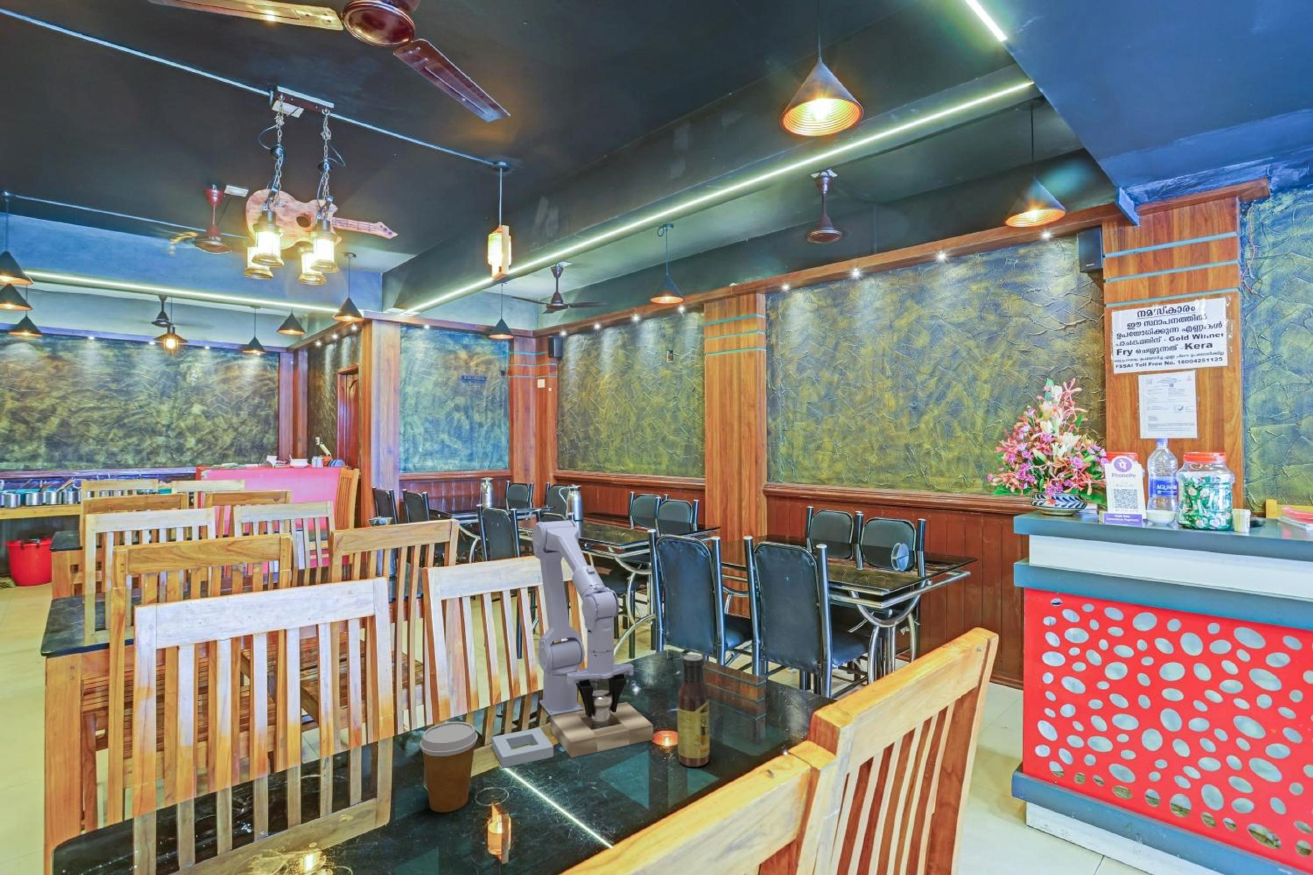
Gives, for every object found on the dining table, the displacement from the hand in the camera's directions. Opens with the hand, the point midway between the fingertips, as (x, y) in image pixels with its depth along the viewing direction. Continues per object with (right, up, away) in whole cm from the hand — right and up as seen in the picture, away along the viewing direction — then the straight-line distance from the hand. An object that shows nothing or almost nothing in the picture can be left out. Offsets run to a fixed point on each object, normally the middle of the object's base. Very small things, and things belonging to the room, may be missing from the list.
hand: (600, 712), depth 135 cm
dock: (0, -5, 0) cm, 5 cm away
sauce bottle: (+19, -4, -12) cm, 23 cm away
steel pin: (0, -4, 0) cm, 4 cm away
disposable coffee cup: (-24, -4, -26) cm, 36 cm away
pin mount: (-15, -5, -8) cm, 18 cm away
